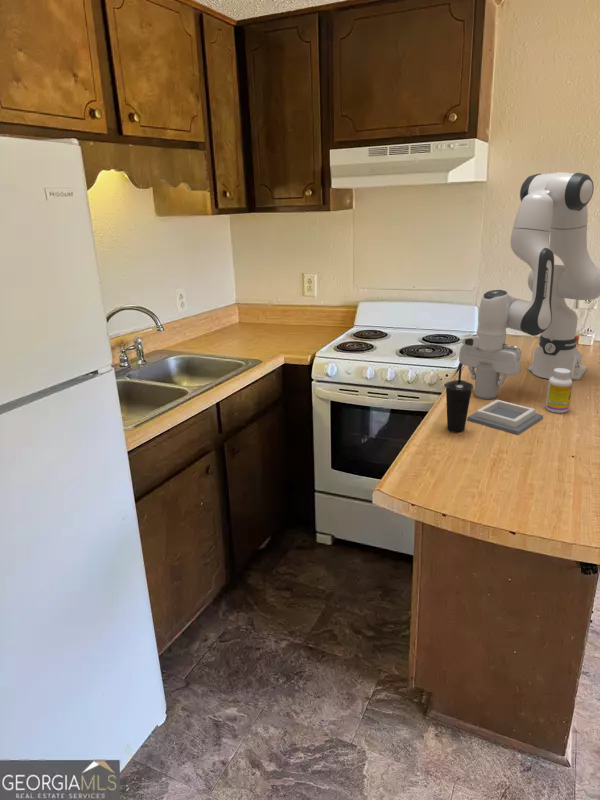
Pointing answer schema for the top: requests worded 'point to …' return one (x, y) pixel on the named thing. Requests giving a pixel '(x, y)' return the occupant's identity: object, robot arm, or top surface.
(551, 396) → the supplement bottle
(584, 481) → the top surface
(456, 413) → the drinking cup
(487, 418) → the grey flat square tray
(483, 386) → the can
